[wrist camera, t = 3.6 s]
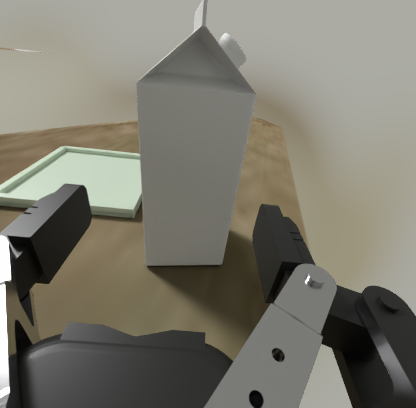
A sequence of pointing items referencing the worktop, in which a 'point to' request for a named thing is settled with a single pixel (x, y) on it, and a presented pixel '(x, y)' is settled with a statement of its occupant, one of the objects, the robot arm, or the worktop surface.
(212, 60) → the milk carton
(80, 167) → the tray
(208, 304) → the worktop surface
